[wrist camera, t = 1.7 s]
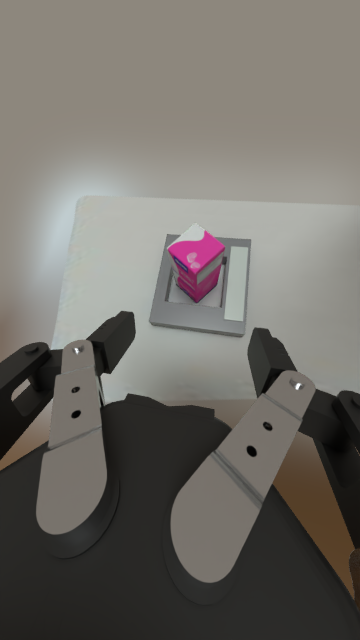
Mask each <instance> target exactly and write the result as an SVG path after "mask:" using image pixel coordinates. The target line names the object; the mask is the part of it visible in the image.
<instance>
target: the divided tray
mask: <svg viewBox="0 0 360 640" xmlns="http://www.w3.org/2000/svg"><path fill="white" fill-rule="evenodd" d="M180 236H181V235H171V234H167V237H166V242H165V247H164V251H163V256H162V261H161V266H160V271H159V275H158V280H157V285H156V290H155V295H154V299H153V304H152V309H151V314H150V319H149V322H150V323H151V324H152V325H155V326H163V327H170V328H177V329H185V330H192V331H200V332H207V333H215V334H222V335H230V336H237V337H242V336H243V335H245V325H246V310H247V295H248V280H249V264H250V249H251V239H235V238H219V237H215V238H216V239H217V240H218V241H220V242H221V243H222V244H223V245H224V246H225V250H224V255H223V259H222V264H225V271H224V280H223V290H222V299H221V308H218V307H209V306H200V305H192V304H183V303H174V302H168V296H169V291H170V286H171V280H172V275H173V270H172V267H171V263H170V259H169V256H168V252H167V247H168V246H169V245H171V244H172V243H173V242H174V241H175V240H176V239H177V238H179V237H180Z"/></svg>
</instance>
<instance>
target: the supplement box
mask: <svg viewBox="0 0 360 640" xmlns="http://www.w3.org/2000/svg"><path fill="white" fill-rule="evenodd" d="M224 250H225V246H224V245H223V244H222V243H221V242H220V241H218V240H217V239H216V238H215V237H213V236H212V235H211V234H209V233H208V232H207V231H206V230H204V229H203V228H202V227H200V226H199V225H198V224H197V223H194V224H193V225H192V226H191V227H190V228H189V229H188V230H186V231H185V232H184V233H183V234H182V235H181V236H180V237H179V238H177V239H176V240H175V241H174V242H173V243H172V244H171V245H169V246H168V247H167V252H168V256H169V259H170V263H171V267H172V270H173V274H174V278H175V281H176V285H177V286H179V287H180V288H181V289H182V290H183V291H184V292H185V293H186V294H187V295H189V296H190V297H191V298H192V299H193V300H194V301H195V302H196V303H198V302H199V301H200V300H201V299H202V298H203V297H204V296H205V295H206V294H207V293H208V292H209V291H211V290H212V289H213V288H214V287H215V286H216V285H217V282H218V277H219V273H220V268H221V264H222V259H223V255H224Z"/></svg>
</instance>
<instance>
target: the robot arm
mask: <svg viewBox="0 0 360 640" xmlns="http://www.w3.org/2000/svg"><path fill="white" fill-rule="evenodd" d="M135 334H136V330H135V320H134V314H133V312H127V311H121V312H120V313H119V314H118V315H117V316H116V317H112V318H110V319H108V320H106V321H105V322H104V323H103V324H102V325H101V326H100V327H99V328H98V329H97V330H96V331H94V332H93V333H92V334H91V335H90V336H89V337H88V338H87V339H86V340H77V341H74V342H71V343H69V344H68V345H66V346H65V347H64V349H59V350H50V349H49V347H48V345H47V344H46V343H43V342H37V343H32V344H29V345H26V346H24V347H22V348H20V349H19V350H18V351H16V352H15V353H13V354H12V355H10V356H9V357H8V358H7V359H5V360H4V361H2V362H1V363H0V460H1V459H2V458H3V456H4V455H5V454H6V453H7V452H8V451H9V449H10V448H11V447H12V446H13V445H14V443H15V442H16V441H17V440H18V439H19V437H20V436H21V435H22V434H23V432H24V431H25V430H26V429H27V428H28V427H29V425H30V424H31V423H32V422H33V421H34V419H35V418H36V417H37V416H38V415H39V413H40V412H41V411H42V410H43V409H44V407H45V406H46V405H47V404H48V403H49V402H50V400H51V399H52V398H53V406H52V416H51V425H50V435H49V440H48V441H47V442H45V443H44V444H42V445H41V446H39V447H37V448H36V449H34V450H33V451H31V452H29V453H28V454H26V455H25V456H23V457H21V458H20V459H18V460H17V461H15V462H14V463H12V464H10V465H9V466H7V467H6V468H4V469H3V470H1V471H0V640H360V456H359V454H360V394H358V393H355V392H352V391H341V392H340V393H339V394H338V395H337V397H336V396H334V395H331V394H328V393H326V392H323V391H320V390H318V389H316V388H315V385H314V384H313V382H312V381H311V380H310V379H309V378H308V377H306V376H305V375H303V374H301V373H299V372H297V370H296V368H295V366H294V364H293V362H292V360H291V359H290V357H289V356H288V353H287V351H286V349H285V347H284V345H283V344H282V343H281V342H280V341H279V340H278V339H277V338H273V337H272V336H271V334H270V332H269V330H268V329H264V328H256V327H255V328H254V330H253V333H252V336H251V340H250V343H249V346H248V360H249V364H250V368H251V373H252V377H253V381H254V386H255V390H256V394H257V400H256V401H255V402H254V404H253V405H252V406H251V408H250V409H249V410H248V411H247V412H246V414H245V415H244V416H243V417H242V419H241V420H240V421H239V422H238V424H237V425H236V426H235V427H234V428H233V429H231V428H230V427H229V426H228V425H227V424H226V423H224V422H223V421H221V420H219V419H218V418H216V417H214V409H210V408H204V407H199V406H193V405H188V406H166V405H164V404H162V403H160V402H158V401H155V400H153V399H151V398H149V397H145V396H139V395H134V394H129V393H128V394H127V396H126V398H125V400H121V401H116V402H112V403H110V404H107V405H105V399H104V393H103V387H102V381H101V377H100V376H101V375H102V373H107V374H111V373H112V371H113V370H114V368H115V367H116V365H117V364H118V362H119V361H120V359H121V358H122V356H123V355H124V354H125V352H126V351H127V349H128V348H129V346H130V345H131V343H132V342H133V340H134V338H135ZM27 378H28V380H29V382H30V385H29V386H28V387H27V388H26V389H25V390H24V391H23V392H22V393H21V394H20V395H19V396H18V397H17V398H16V399H15V400H14V401H13V402H12V400H11V396H12V393H13V391H14V390H15V389H16V388H17V387H18V386H19V385H20V384H22V383H23V382H24V381H25V380H26V379H27ZM297 431H299V432H301V433H303V434H305V435H308V436H310V437H312V438H313V440H314V443H315V446H316V448H317V451H318V453H319V456H320V458H321V461H322V464H323V466H324V469H325V471H326V474H327V477H328V480H329V482H330V485H331V487H332V490H333V493H334V495H335V498H336V500H337V503H338V506H339V508H340V511H341V513H342V516H343V519H344V521H345V524H346V526H347V529H348V532H349V534H350V537H351V539H352V542H353V545H354V547H355V550H354V551H352V553H351V554H350V558H349V569H350V574H351V578H352V584H353V589H354V600H353V598H352V596H351V595H350V593H349V591H348V590H347V588H346V586H345V585H344V583H343V582H342V580H341V579H340V577H339V576H338V575H337V574H336V572H335V570H334V569H333V568H332V566H331V565H330V564H329V562H328V561H327V559H326V558H325V556H324V555H323V554H322V552H321V551H320V550H319V548H318V547H317V545H316V544H315V542H314V541H313V540H312V538H311V537H310V535H309V534H308V533H307V531H306V530H305V529H304V527H303V526H302V524H301V523H300V521H299V520H298V519H297V517H296V516H295V514H294V513H293V512H292V510H291V509H290V507H289V506H288V505H287V503H286V502H285V500H284V499H283V498H282V496H281V495H280V493H279V492H278V491H277V489H276V488H275V486H274V485H273V484H272V482H273V480H274V478H275V476H276V474H277V472H278V470H279V468H280V466H281V464H282V462H283V460H284V457H285V455H286V453H287V451H288V449H289V447H290V445H291V443H292V441H293V439H294V437H295V435H296V433H297ZM355 447H356V448H355ZM356 449H357V450H358V452H359V454H358V452H357V450H356Z"/></svg>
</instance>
